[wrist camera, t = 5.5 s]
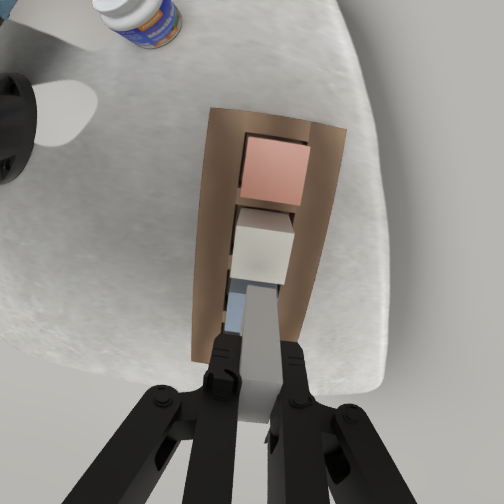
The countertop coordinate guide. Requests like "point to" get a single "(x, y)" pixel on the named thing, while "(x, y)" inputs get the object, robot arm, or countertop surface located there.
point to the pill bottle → (141, 20)
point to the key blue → (240, 301)
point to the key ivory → (262, 246)
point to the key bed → (229, 205)
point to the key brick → (274, 170)
